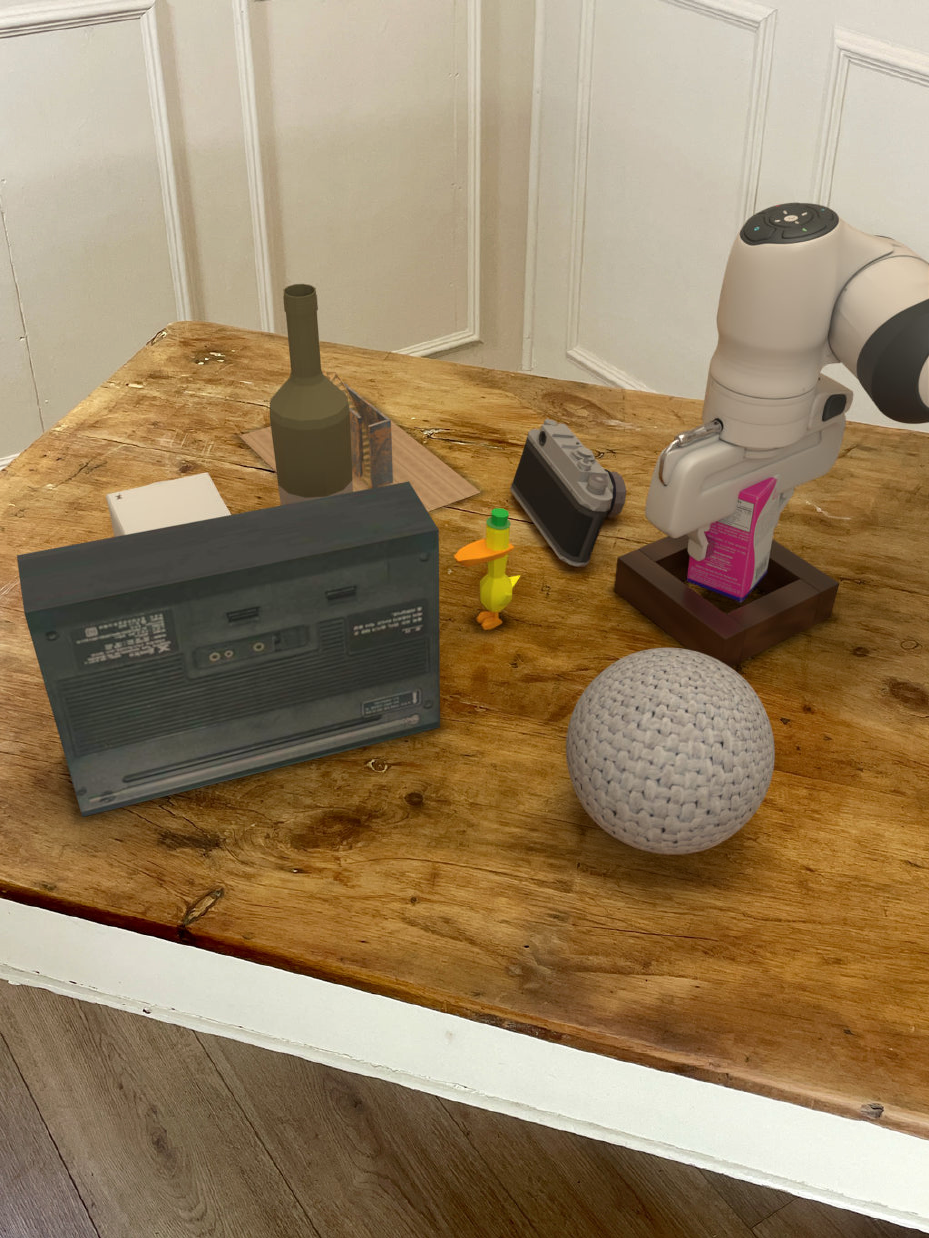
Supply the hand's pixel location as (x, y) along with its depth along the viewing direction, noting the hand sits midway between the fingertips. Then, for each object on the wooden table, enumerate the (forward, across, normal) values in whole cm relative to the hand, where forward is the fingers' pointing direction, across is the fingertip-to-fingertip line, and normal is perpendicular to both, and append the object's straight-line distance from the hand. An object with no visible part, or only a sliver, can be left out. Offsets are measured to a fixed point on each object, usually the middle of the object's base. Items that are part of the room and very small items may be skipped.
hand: (732, 540), depth 108 cm
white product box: (+7, -44, +22) cm, 50 cm away
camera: (+8, -3, +18) cm, 20 cm away
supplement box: (+4, 0, 0) cm, 4 cm away
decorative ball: (+7, -23, -17) cm, 30 cm away
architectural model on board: (+7, -16, +41) cm, 45 cm away
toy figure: (+7, -20, +10) cm, 24 cm away
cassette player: (+7, -45, +8) cm, 46 cm away
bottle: (+7, -30, +23) cm, 39 cm away
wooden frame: (+7, 0, 0) cm, 7 cm away
